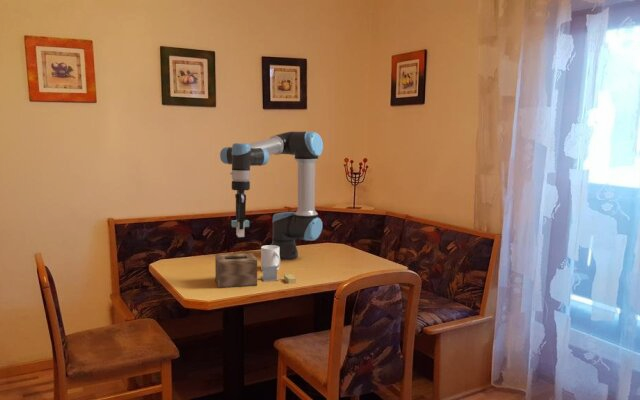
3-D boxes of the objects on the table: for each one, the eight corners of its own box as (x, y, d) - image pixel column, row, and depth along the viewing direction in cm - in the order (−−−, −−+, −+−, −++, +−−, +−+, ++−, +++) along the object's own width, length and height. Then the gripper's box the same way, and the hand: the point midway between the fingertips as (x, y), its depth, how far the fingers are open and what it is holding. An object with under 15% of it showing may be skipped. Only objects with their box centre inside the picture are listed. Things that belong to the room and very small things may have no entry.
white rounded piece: (271, 274, 234) (272, 251, 233) (257, 268, 243) (257, 246, 242) (287, 271, 239) (287, 248, 238) (272, 266, 249) (272, 244, 247)
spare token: (284, 280, 226) (284, 274, 226) (291, 279, 227) (291, 274, 227) (288, 284, 220) (288, 279, 219) (296, 283, 221) (296, 278, 220)
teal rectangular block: (248, 225, 220) (248, 220, 219) (249, 226, 216) (249, 221, 216) (231, 225, 217) (231, 220, 217) (232, 227, 214) (232, 221, 214)
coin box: (252, 277, 228) (252, 253, 226) (257, 285, 215) (257, 260, 214) (215, 279, 223) (215, 254, 222) (218, 288, 211) (218, 261, 210)
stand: (275, 276, 230) (275, 264, 229) (278, 280, 224) (278, 267, 223) (261, 277, 228) (261, 265, 227) (263, 281, 222) (263, 268, 221)
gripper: (229, 178, 221) (228, 232, 224) (234, 182, 206) (233, 239, 208) (246, 179, 224) (246, 232, 226) (253, 182, 208) (252, 239, 211)
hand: (240, 235), depth 217 cm, fingers closed on teal rectangular block, 3 cm apart
